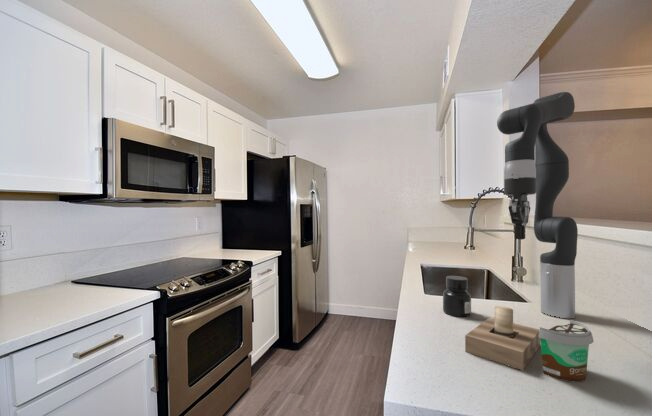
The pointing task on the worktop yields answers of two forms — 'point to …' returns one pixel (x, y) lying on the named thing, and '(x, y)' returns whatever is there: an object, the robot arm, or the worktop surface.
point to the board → (503, 344)
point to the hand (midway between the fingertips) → (520, 239)
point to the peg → (504, 321)
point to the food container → (566, 351)
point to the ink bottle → (457, 297)
